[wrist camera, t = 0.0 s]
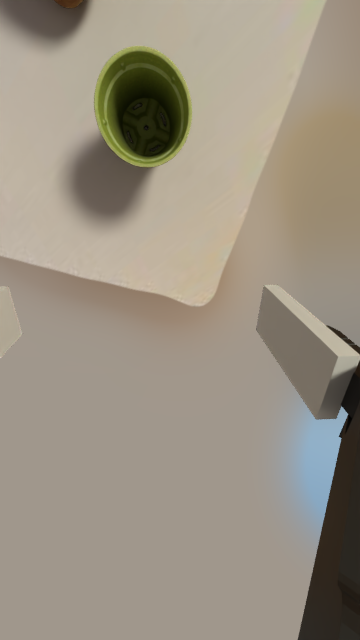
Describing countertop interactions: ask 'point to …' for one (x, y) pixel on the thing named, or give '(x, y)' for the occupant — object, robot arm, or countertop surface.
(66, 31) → the countertop surface
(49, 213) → the countertop surface
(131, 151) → the plant pot
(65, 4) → the bread roll
